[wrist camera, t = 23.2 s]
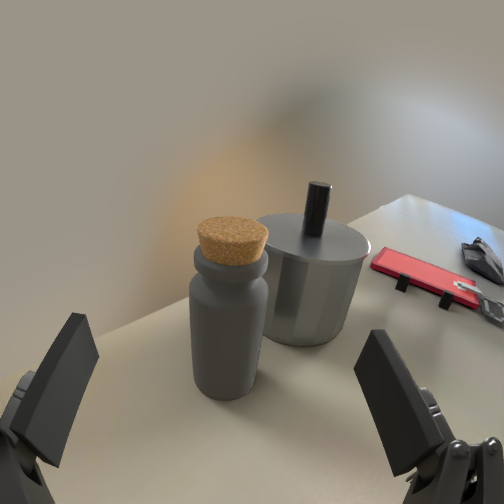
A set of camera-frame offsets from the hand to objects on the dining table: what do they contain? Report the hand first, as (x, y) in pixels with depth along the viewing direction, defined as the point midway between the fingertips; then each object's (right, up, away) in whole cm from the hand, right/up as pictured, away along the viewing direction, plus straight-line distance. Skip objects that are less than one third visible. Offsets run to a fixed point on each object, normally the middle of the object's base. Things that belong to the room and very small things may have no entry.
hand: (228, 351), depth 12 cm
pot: (+7, -3, +24) cm, 25 cm away
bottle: (-2, -8, +13) cm, 15 cm away
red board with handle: (+36, -3, +32) cm, 48 cm away
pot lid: (+8, +6, +19) cm, 21 cm away
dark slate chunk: (+62, +1, +45) cm, 77 cm away
